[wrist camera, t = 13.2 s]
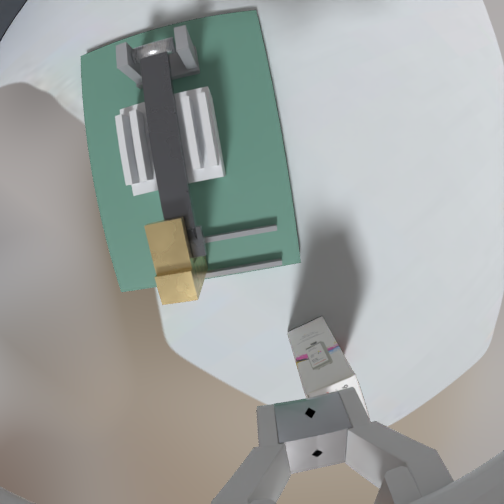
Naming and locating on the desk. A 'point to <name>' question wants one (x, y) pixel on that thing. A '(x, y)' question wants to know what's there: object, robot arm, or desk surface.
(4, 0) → the storage bin
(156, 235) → the hook
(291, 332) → the ink cartridge box
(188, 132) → the board
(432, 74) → the desk surface
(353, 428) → the robot arm
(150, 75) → the strap
